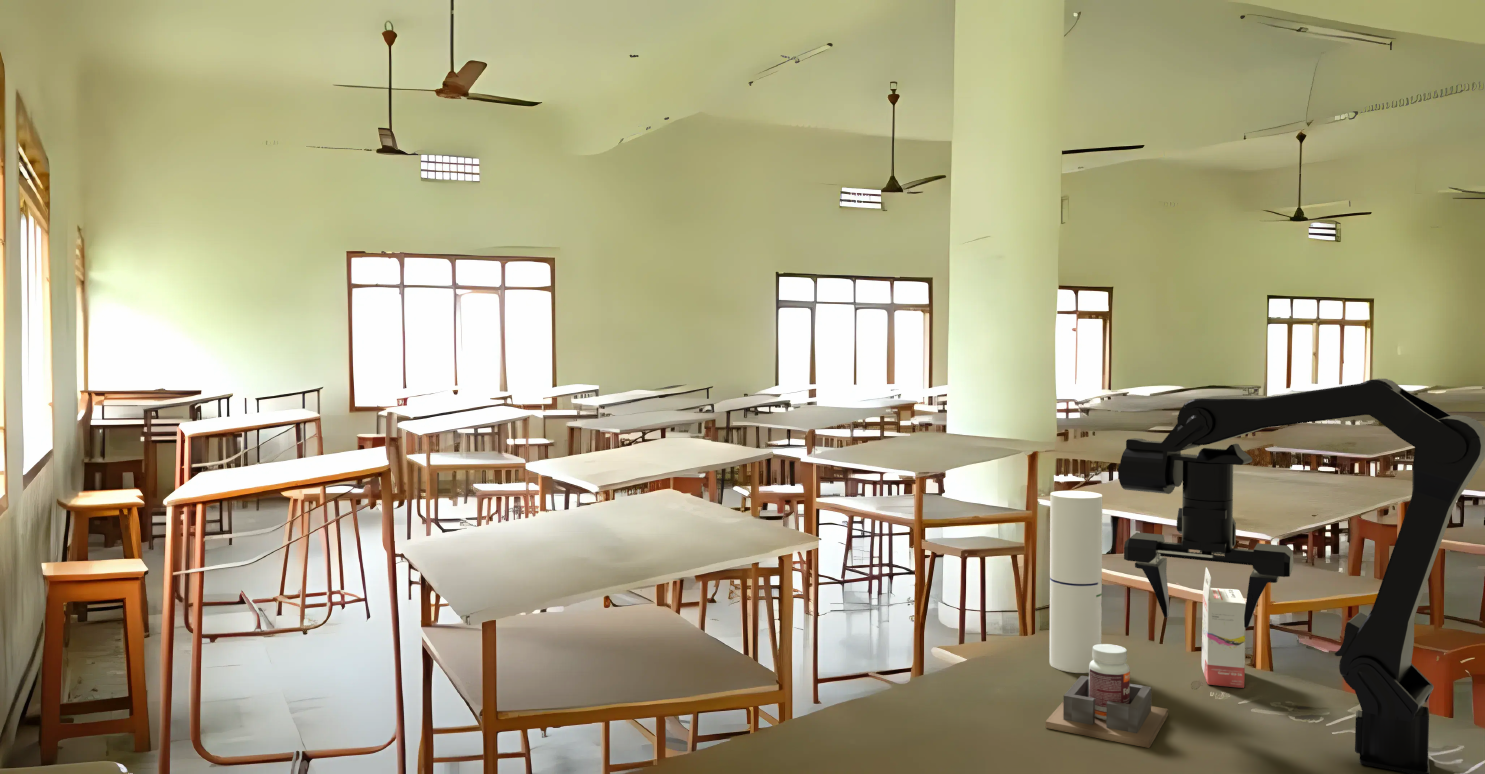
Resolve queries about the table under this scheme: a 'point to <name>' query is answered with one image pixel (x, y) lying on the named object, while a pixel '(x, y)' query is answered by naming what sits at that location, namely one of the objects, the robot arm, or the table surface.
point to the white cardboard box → (1223, 635)
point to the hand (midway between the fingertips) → (1205, 621)
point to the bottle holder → (1109, 716)
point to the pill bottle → (1108, 677)
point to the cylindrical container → (1075, 578)
